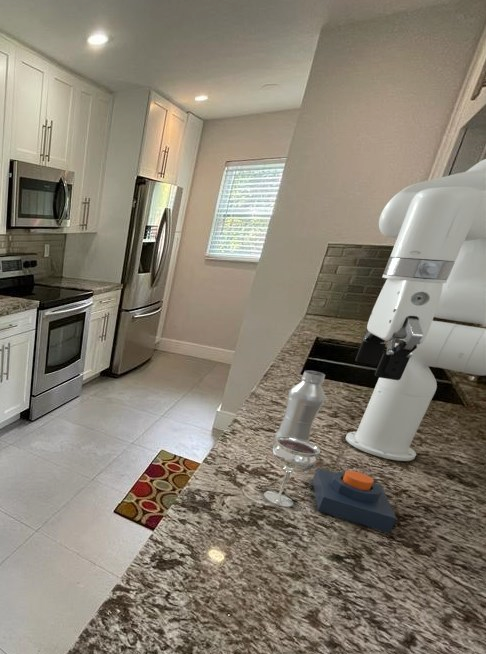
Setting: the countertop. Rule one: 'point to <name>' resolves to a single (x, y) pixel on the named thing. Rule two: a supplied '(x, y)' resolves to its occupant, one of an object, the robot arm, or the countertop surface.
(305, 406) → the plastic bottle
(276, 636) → the countertop surface
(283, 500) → the wineglass
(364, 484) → the orange button cap
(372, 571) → the countertop surface
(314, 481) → the button base
